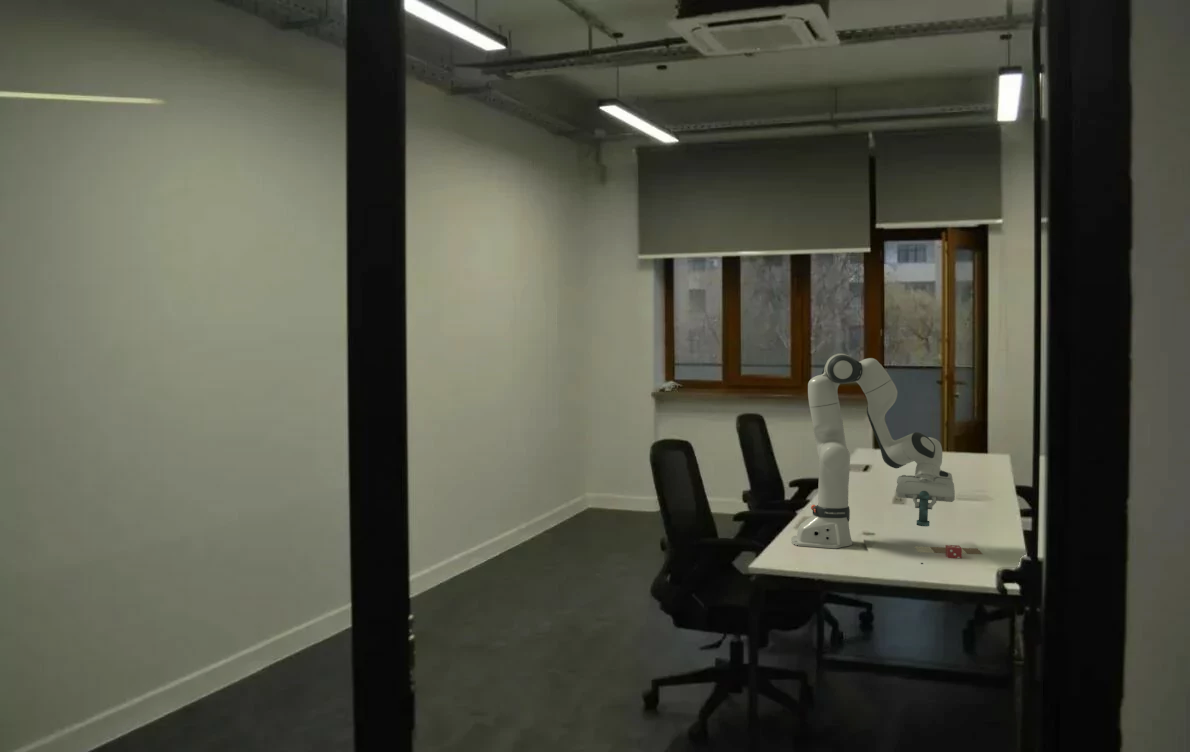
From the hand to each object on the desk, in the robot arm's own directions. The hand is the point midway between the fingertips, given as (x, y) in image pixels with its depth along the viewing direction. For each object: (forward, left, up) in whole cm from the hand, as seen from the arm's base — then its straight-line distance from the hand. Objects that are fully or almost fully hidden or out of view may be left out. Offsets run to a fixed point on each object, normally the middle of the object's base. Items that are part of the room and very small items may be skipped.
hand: (923, 507), depth 345 cm
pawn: (0, +1, -6) cm, 6 cm away
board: (+9, +1, -16) cm, 19 cm away
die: (+9, -9, -16) cm, 21 cm away
